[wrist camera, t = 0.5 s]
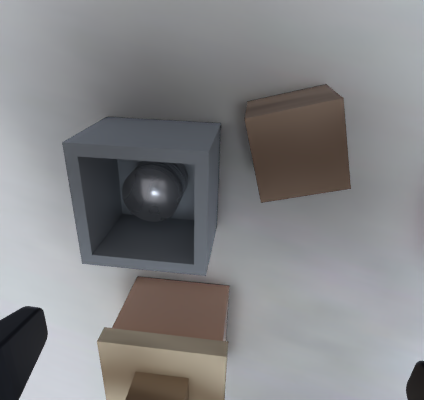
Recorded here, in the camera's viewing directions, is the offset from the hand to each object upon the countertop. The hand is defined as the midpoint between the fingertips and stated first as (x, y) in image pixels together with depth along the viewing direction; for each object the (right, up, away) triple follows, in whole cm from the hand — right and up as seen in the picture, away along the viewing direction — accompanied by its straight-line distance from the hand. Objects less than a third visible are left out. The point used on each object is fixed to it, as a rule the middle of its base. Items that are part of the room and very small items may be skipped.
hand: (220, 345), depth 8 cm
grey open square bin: (-3, +5, +12) cm, 14 cm away
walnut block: (+4, +7, +10) cm, 13 cm away
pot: (-2, -5, +17) cm, 18 cm away
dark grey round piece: (-3, +5, +12) cm, 13 cm away
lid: (-3, -7, +13) cm, 15 cm away
